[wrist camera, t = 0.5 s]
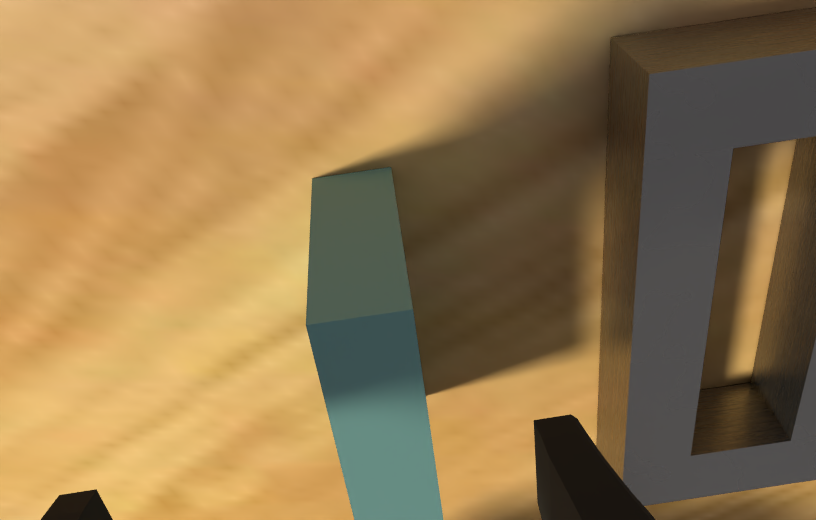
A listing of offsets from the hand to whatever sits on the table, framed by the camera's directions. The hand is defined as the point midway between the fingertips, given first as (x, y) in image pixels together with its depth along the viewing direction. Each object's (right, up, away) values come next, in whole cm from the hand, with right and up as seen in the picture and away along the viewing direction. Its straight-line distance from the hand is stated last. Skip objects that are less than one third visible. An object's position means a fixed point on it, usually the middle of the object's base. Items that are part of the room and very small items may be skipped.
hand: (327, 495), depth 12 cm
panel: (0, +3, +9) cm, 9 cm away
